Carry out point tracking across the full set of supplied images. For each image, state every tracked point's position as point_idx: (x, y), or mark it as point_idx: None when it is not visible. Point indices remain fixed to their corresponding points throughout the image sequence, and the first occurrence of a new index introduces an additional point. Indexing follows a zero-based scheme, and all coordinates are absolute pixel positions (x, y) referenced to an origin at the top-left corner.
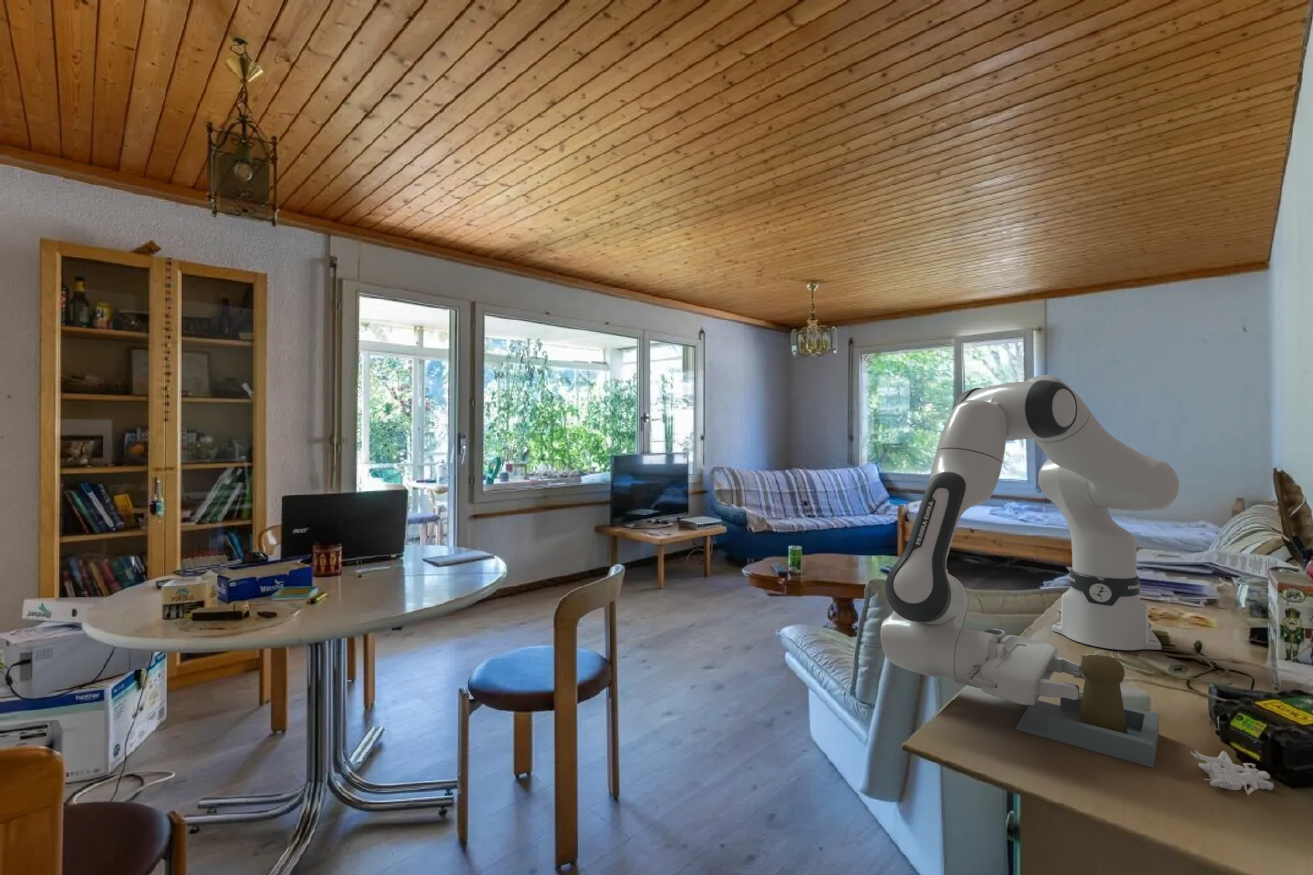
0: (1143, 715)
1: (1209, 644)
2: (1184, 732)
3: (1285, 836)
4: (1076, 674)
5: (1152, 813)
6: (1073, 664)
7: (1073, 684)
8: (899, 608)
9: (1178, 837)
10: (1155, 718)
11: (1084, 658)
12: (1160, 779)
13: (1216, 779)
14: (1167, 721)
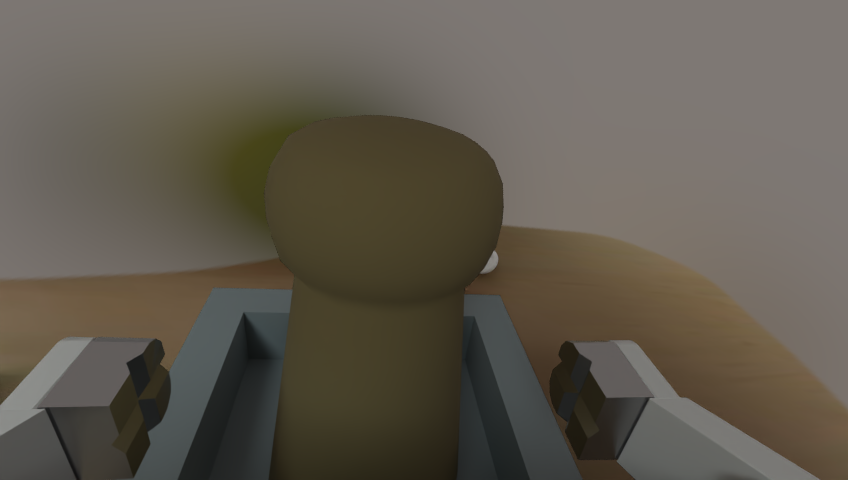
0: (242, 320)
1: None
2: (171, 303)
3: (551, 237)
4: (138, 439)
5: (705, 341)
6: (36, 418)
7: (590, 355)
8: None
9: (730, 313)
10: (269, 293)
11: (435, 186)
12: (535, 335)
13: (496, 254)
14: (83, 331)
